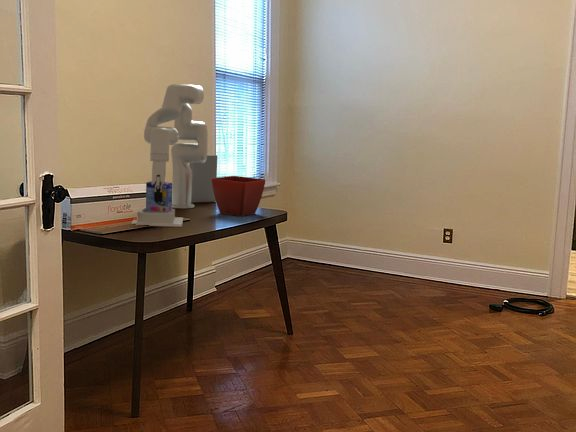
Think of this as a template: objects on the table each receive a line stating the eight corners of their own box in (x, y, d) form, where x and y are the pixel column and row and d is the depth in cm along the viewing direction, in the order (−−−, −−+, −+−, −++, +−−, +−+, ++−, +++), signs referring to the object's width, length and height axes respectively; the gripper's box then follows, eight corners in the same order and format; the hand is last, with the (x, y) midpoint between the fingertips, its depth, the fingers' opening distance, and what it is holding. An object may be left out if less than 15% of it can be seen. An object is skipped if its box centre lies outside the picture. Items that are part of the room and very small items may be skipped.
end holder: (136, 218, 250) (136, 207, 249) (183, 219, 253) (183, 208, 252) (131, 225, 235) (131, 213, 234) (181, 226, 238) (182, 214, 237)
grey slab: (211, 200, 315) (212, 154, 311) (216, 202, 310) (217, 155, 306) (187, 201, 308) (188, 154, 304) (192, 203, 303) (193, 155, 299)
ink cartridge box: (145, 211, 241) (145, 176, 239) (149, 209, 247) (150, 175, 244) (168, 213, 240) (168, 178, 238) (172, 211, 246) (173, 177, 243)
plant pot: (243, 218, 265) (244, 182, 262) (209, 213, 274) (210, 178, 271) (264, 213, 281) (266, 179, 278) (232, 209, 290) (233, 175, 287)
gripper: (152, 155, 247) (151, 197, 250) (148, 158, 231) (147, 203, 234) (170, 156, 249) (169, 197, 252) (167, 159, 232) (166, 204, 235)
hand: (158, 200), depth 243 cm, fingers closed on ink cartridge box, 6 cm apart
